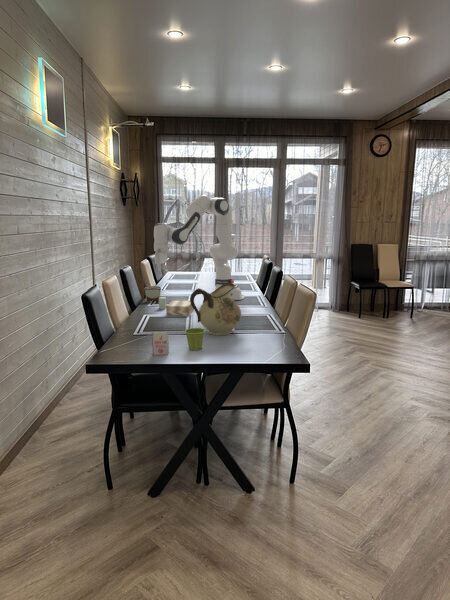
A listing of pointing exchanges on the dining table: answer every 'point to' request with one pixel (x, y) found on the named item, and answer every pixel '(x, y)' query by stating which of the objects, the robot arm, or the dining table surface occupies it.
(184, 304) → the birch riser block
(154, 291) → the food container
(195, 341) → the plant pot
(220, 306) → the pitcher
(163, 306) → the sage block
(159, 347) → the white printed box
